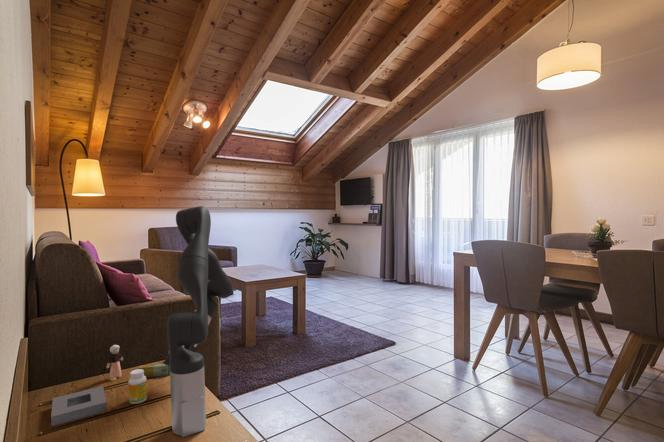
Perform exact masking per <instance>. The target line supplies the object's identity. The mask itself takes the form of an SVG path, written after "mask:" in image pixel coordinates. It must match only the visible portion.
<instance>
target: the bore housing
mask: <svg viewBox="0 0 664 442" xmlns="http://www.w3.org/2000/svg"><path fill="white" fill-rule="evenodd" d="M51 404H52V405H51V413H50V416H51V417H50V422H51V424H50V425H51V428H52V426H53V427H56V426H60V425H63V424H67V423H71V422H75V421H77V420H81V419H85V418H89V417H92V416H96V415H100V414H102V413H103V414H104V413H107V412H108V411H107V409H108V408H107V398H106V394H105V388H104V386H103V385H102V386H101V385H100V386H99V387H98V386H97V387H93V388H90V389H89V388H88V389H85V390H82V391H77V392H73V393H68V394H65V395H60V396H57V397H52V403H51Z"/></svg>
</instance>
